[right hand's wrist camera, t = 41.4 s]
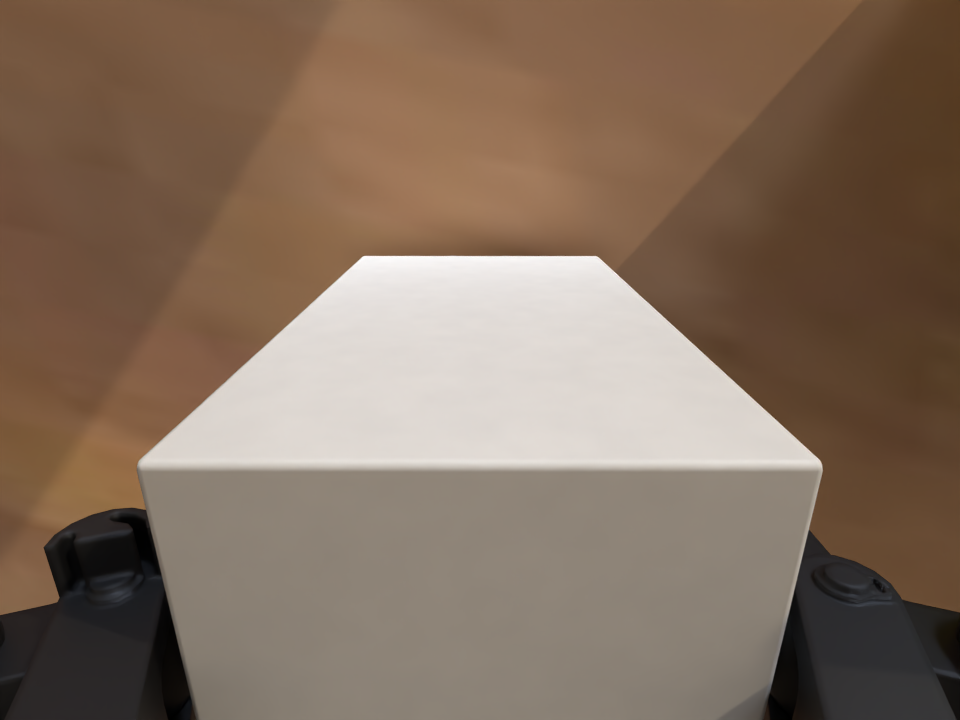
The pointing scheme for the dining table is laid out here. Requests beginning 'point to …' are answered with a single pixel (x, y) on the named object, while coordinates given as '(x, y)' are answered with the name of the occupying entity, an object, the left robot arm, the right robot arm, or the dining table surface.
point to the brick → (479, 509)
